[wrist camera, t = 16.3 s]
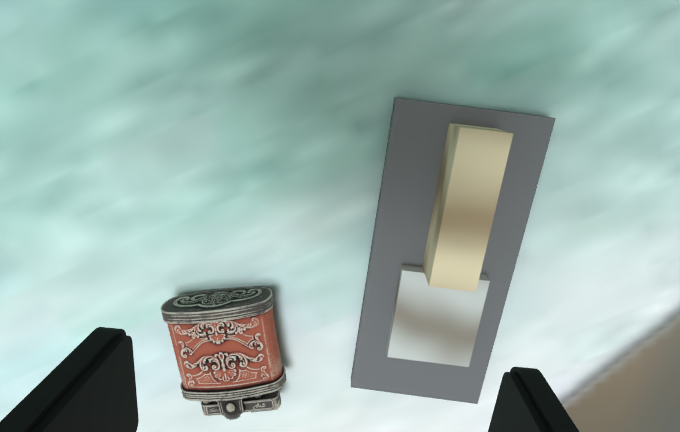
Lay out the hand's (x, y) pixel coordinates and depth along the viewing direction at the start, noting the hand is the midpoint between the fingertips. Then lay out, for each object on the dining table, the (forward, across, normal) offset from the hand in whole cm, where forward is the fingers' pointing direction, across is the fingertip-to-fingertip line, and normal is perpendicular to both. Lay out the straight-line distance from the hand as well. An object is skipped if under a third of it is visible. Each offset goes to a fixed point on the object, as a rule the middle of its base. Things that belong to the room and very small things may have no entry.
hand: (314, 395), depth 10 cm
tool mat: (+19, -8, +4) cm, 21 cm away
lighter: (+18, +8, +8) cm, 21 cm away
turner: (+18, -8, +2) cm, 20 cm away
